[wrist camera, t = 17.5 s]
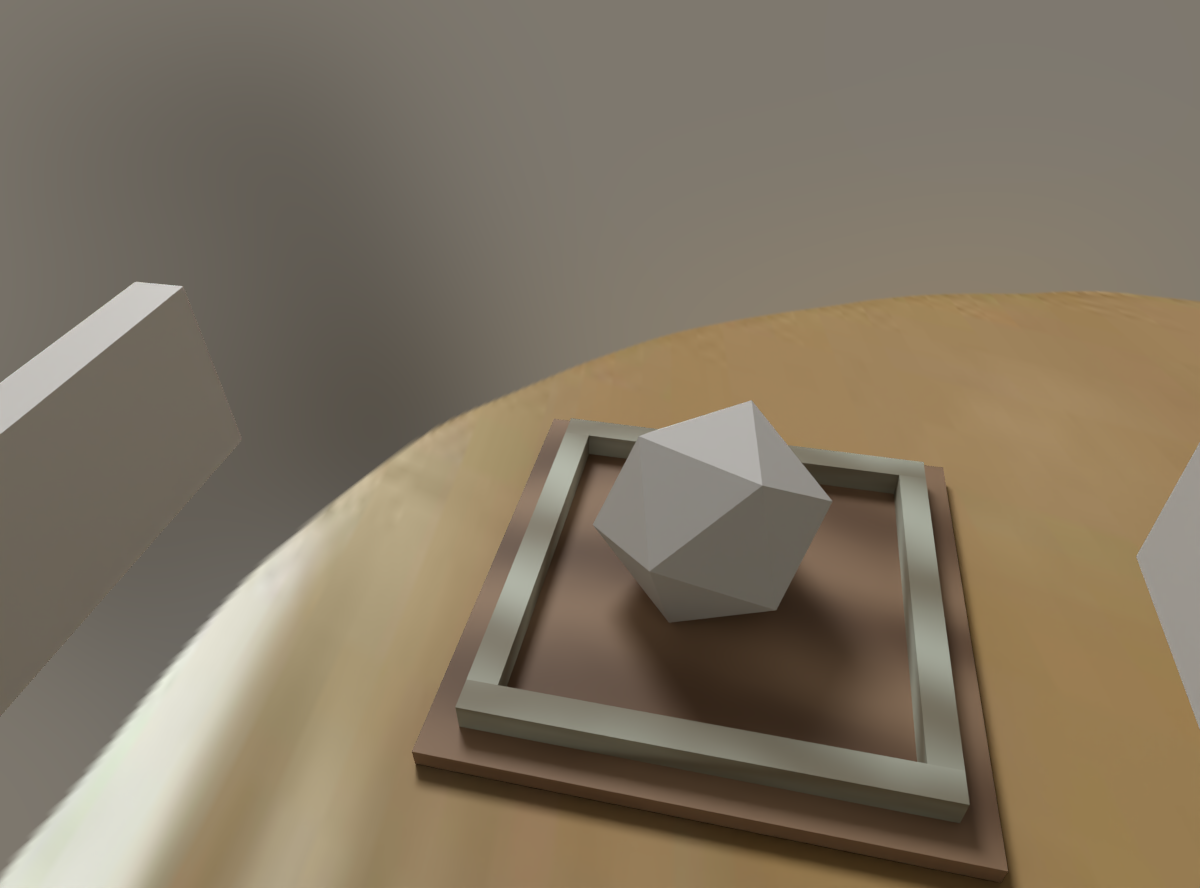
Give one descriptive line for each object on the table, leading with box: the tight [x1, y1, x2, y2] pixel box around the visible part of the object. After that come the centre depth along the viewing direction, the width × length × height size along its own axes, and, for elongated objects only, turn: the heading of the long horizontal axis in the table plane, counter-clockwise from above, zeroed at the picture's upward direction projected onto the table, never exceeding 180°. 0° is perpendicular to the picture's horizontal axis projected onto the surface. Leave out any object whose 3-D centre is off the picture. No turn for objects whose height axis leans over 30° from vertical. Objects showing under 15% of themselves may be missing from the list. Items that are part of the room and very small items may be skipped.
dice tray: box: [412, 418, 1008, 883], centre depth 35 cm, size 20×20×2 cm
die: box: [593, 400, 832, 623], centre depth 33 cm, size 8×9×10 cm
